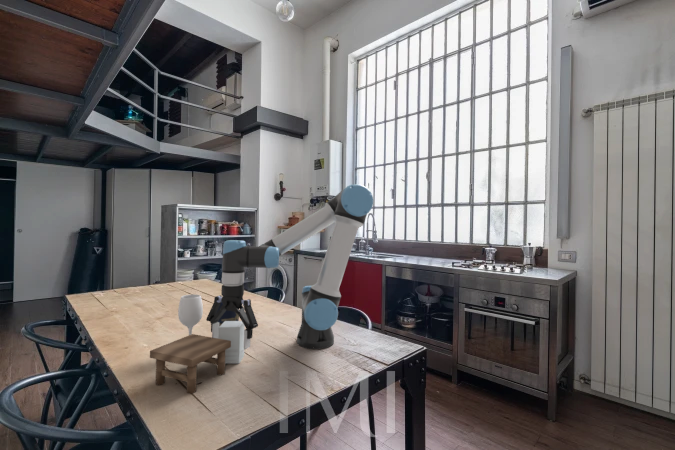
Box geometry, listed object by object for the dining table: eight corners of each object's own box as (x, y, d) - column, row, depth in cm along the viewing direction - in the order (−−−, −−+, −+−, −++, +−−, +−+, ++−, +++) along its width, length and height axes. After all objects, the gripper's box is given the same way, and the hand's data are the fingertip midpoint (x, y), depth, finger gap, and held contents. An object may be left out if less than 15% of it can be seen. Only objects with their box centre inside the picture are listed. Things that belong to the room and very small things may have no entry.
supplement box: (244, 355, 117) (245, 320, 117) (239, 364, 109) (240, 326, 109) (224, 355, 116) (225, 320, 116) (217, 364, 109) (218, 326, 109)
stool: (230, 371, 103) (230, 340, 103) (191, 396, 88) (192, 359, 88) (191, 363, 109) (192, 334, 109) (149, 385, 94) (149, 350, 94)
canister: (230, 346, 125) (231, 299, 125) (208, 343, 127) (209, 298, 127) (242, 337, 135) (243, 294, 135) (222, 335, 136) (223, 293, 137)
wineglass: (195, 347, 123) (196, 292, 123) (207, 353, 118) (208, 296, 118) (172, 354, 116) (173, 296, 116) (183, 360, 111) (184, 300, 111)
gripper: (269, 285, 112) (267, 346, 112) (212, 279, 121) (210, 335, 121) (256, 289, 105) (254, 354, 105) (197, 282, 114) (194, 342, 114)
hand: (230, 344), depth 113 cm, fingers open, 13 cm apart
